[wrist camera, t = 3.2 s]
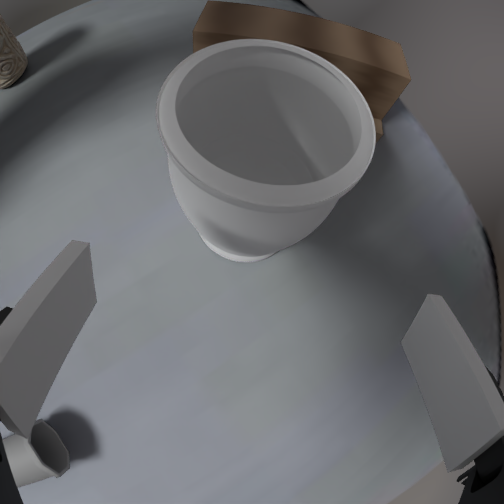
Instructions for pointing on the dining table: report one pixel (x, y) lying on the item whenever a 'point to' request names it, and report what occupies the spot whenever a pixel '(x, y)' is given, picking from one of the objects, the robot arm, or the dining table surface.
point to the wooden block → (315, 47)
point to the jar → (261, 143)
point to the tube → (36, 455)
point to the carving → (10, 57)
